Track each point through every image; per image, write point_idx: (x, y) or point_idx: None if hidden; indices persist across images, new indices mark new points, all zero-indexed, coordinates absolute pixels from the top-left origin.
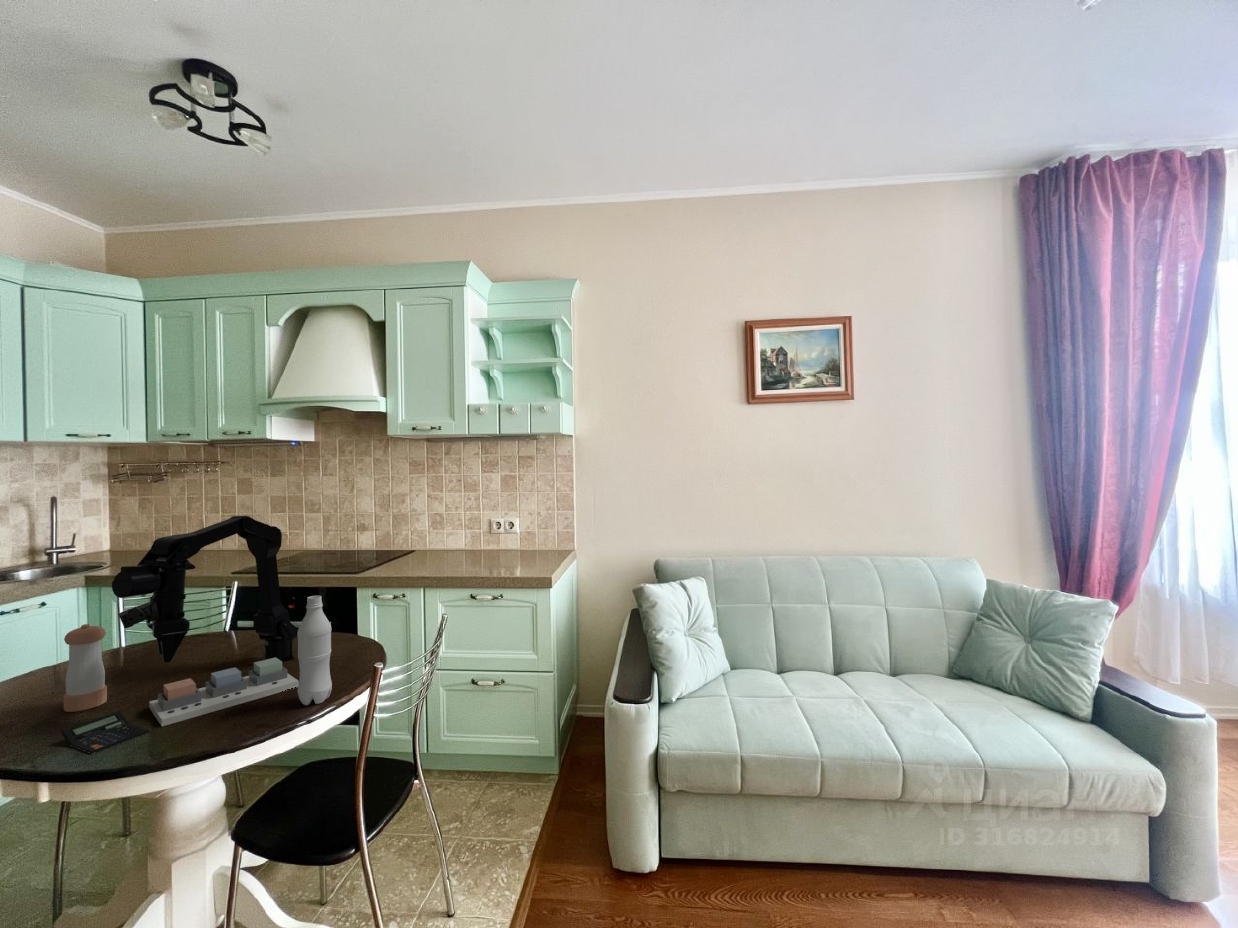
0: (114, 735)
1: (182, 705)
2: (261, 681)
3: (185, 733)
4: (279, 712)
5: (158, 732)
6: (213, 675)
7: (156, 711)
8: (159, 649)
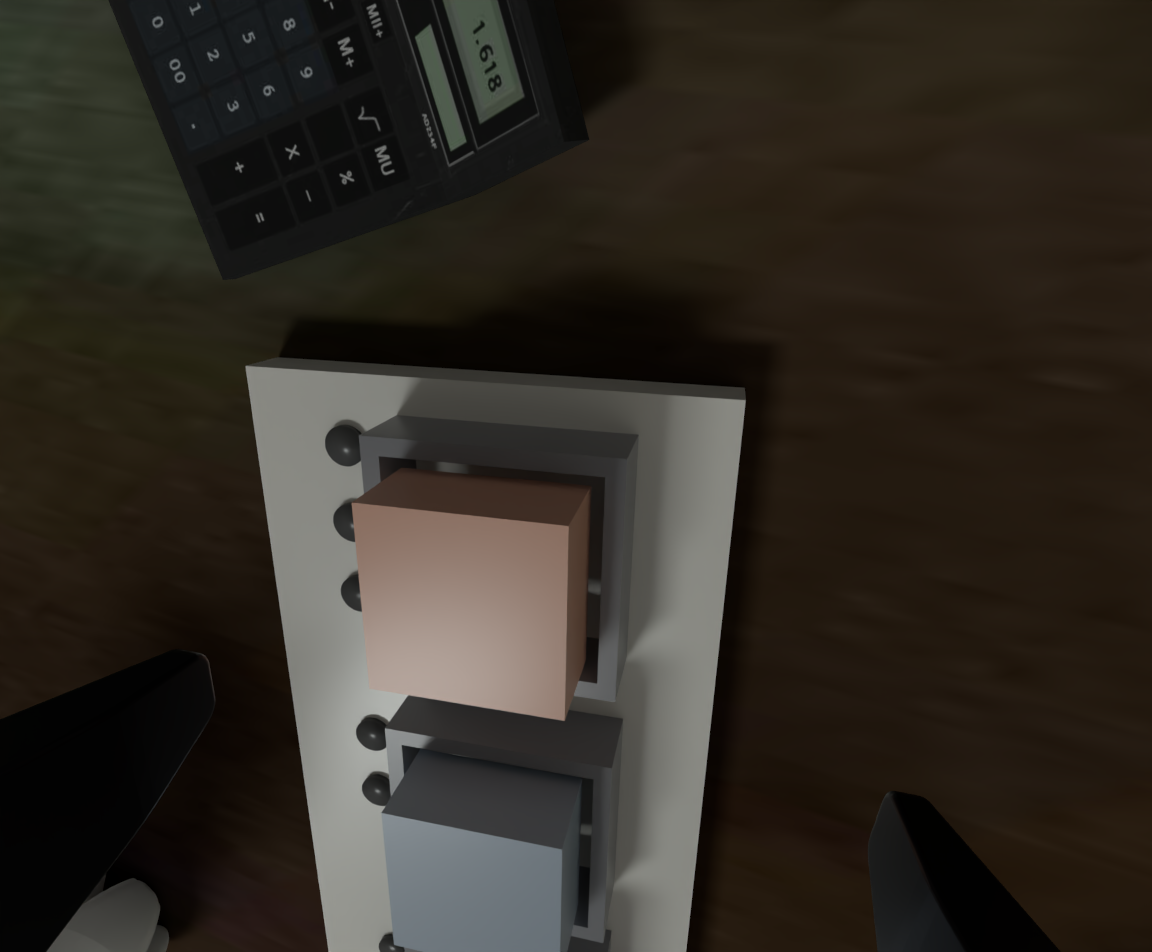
0: (274, 79)
1: None
2: None
3: (84, 420)
4: None
5: (193, 320)
6: (476, 831)
7: (441, 380)
8: (913, 864)
